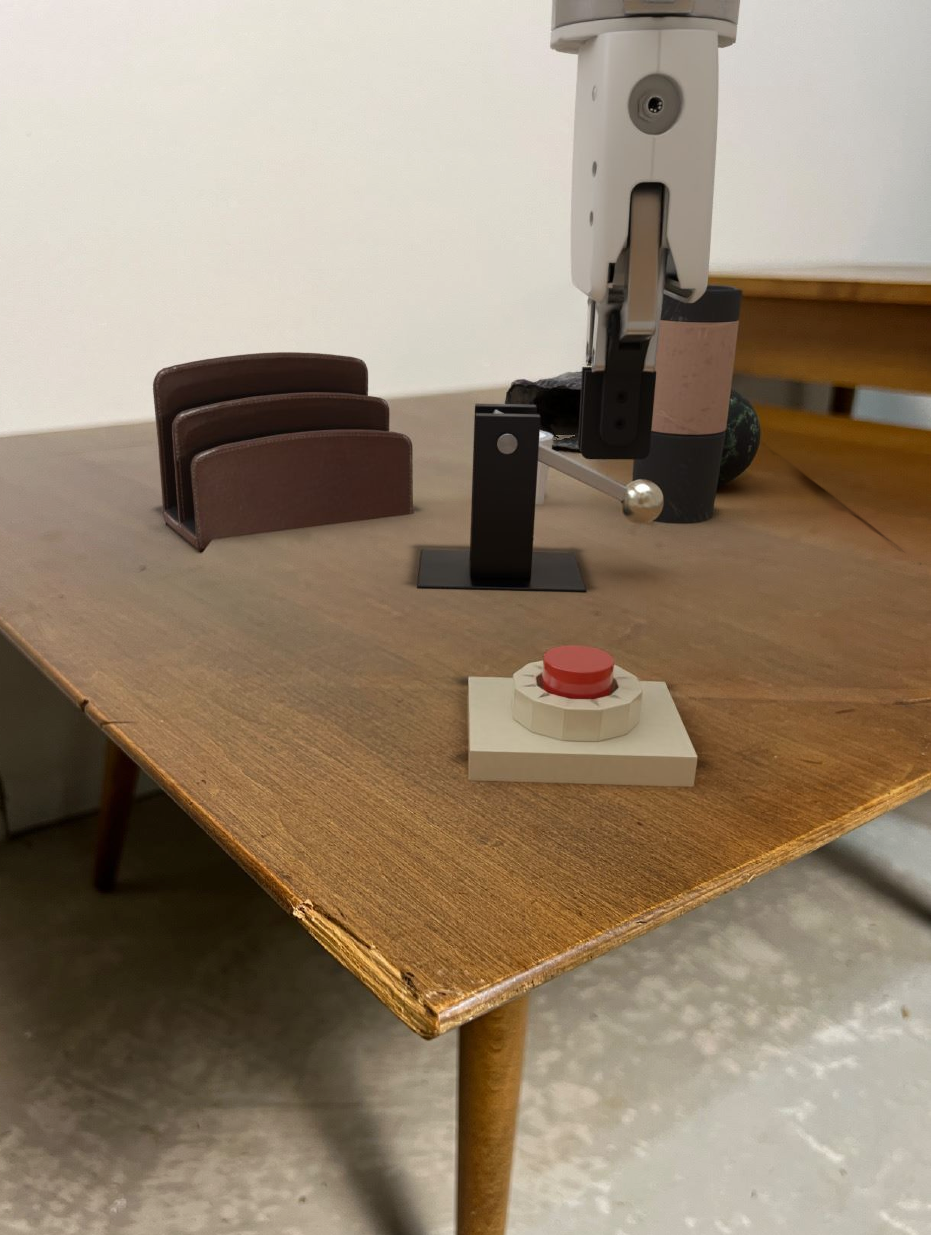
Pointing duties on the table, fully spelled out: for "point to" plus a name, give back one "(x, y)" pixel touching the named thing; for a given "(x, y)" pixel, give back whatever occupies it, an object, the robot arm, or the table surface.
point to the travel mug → (691, 402)
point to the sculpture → (552, 404)
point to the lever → (610, 486)
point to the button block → (576, 733)
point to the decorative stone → (739, 438)
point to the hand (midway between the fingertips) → (612, 454)
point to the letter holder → (275, 446)
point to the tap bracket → (502, 515)
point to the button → (577, 672)
